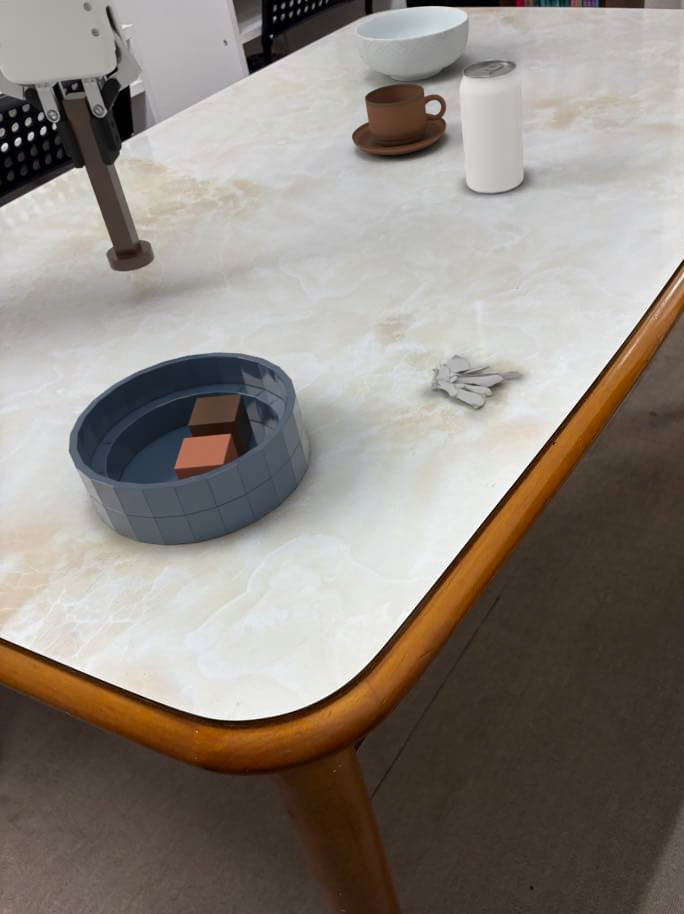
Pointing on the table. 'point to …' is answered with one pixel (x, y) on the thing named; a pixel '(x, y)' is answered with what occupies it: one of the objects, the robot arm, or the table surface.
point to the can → (492, 126)
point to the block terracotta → (204, 455)
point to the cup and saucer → (399, 121)
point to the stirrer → (107, 191)
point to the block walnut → (222, 420)
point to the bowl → (160, 439)
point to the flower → (467, 380)
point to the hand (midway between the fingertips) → (97, 159)
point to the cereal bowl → (413, 41)
